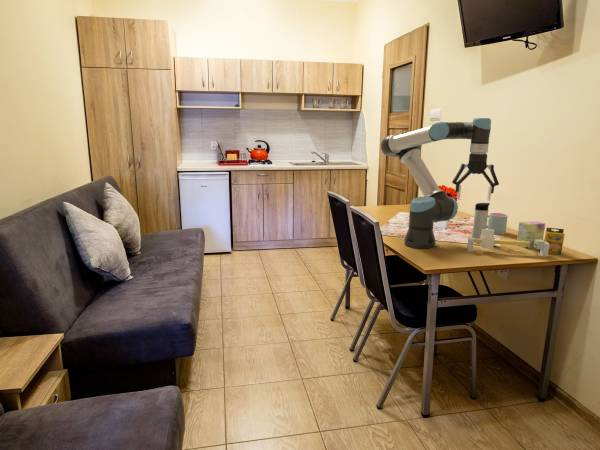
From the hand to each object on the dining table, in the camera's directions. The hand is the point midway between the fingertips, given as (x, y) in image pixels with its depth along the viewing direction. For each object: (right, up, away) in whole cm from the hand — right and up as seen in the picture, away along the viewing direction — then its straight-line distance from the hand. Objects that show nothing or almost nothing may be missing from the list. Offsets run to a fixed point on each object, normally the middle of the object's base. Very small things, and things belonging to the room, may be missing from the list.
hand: (473, 199), depth 191 cm
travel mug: (+12, -20, +21) cm, 31 cm away
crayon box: (+38, -25, +2) cm, 45 cm away
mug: (+27, -16, +39) cm, 50 cm away
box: (+33, -22, +13) cm, 42 cm away
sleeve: (+8, -22, +3) cm, 23 cm away
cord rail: (+16, -25, +2) cm, 30 cm away
